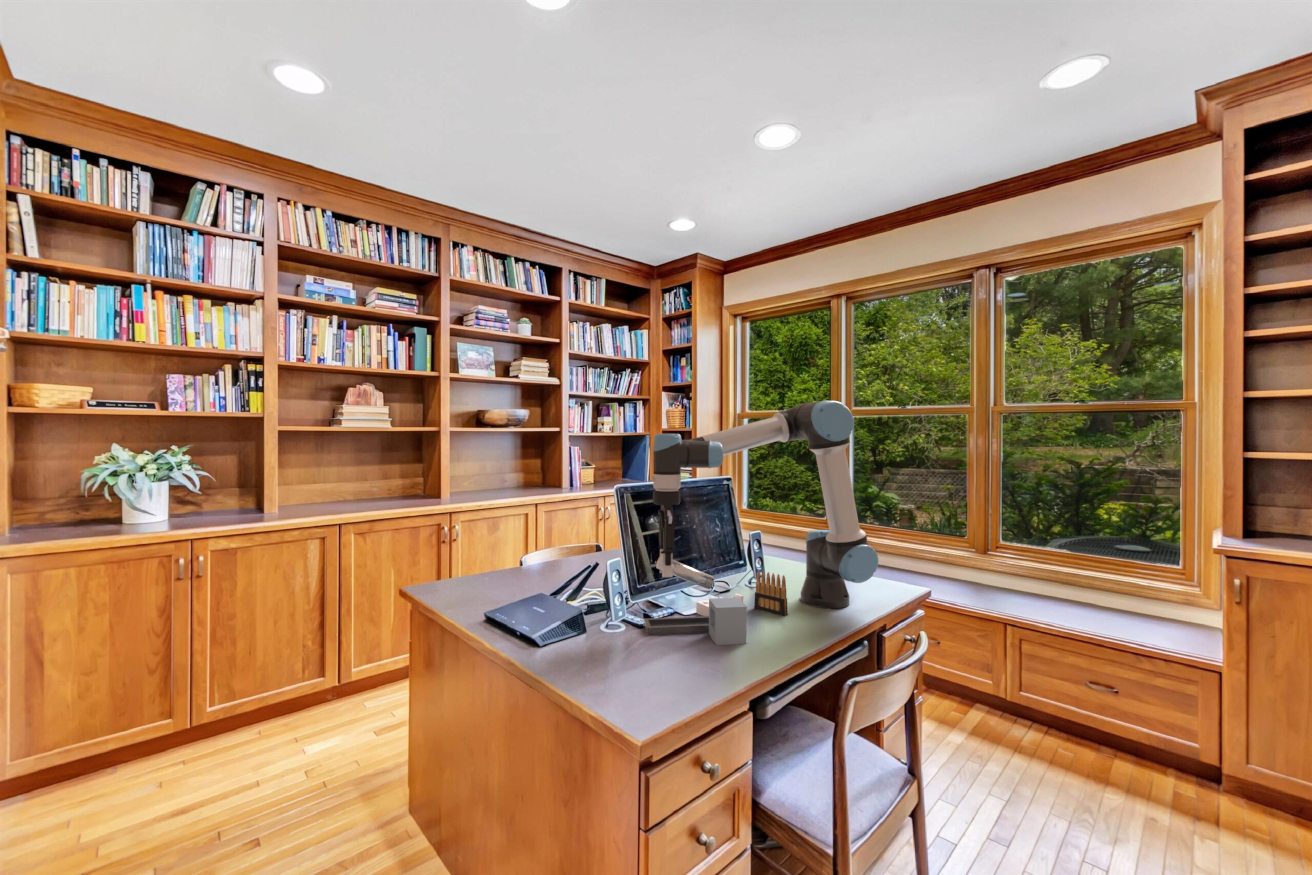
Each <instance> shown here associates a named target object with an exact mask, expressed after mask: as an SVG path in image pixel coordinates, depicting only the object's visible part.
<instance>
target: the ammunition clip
mask: <svg viewBox="0 0 1312 875" xmlns="http://www.w3.org/2000/svg"><path fill="white" fill-rule="evenodd" d="M781 578H782V579H781ZM786 582H787V581H786V577H785V575H784V574H783V575H782V577H781V576H780V574H779V573H778V574H777V576H775V573H774V572H773V573H772V575H770V572H769V571H767V574H766V575H765V570H763V571H762V572H760V570H759V569H758V570H757V572H756V581H755V592H754V602H753V603H754V605H753V606H754V607H753V609H754V610H757V611H761V612H765V613H770V614H773V615H777V616H781V617H787V616H788V615H789V614H788V613H789V612H788V597H787V583H786Z"/></svg>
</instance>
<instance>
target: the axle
mask: <svg viewBox="0 0 1312 875" xmlns="http://www.w3.org/2000/svg"><path fill="white" fill-rule="evenodd" d="M655 568H656V569H658V570H659V571H660V570H662V555H660V554H659V557H658V559H657V561H656V565H655ZM672 576H675V577H677V578H680V579H682V580H684V581H685V582H689V583H691V584H694V585H696V586H699V587H701V588H703V589H706V590H708V591H710V590H711V589H712V588H713V585H714V582H715V577H714V576H712V575H710V574H708V573H706V572H704V571H701V570H698V569H697V568H694V567H692V566H689V565H687V564H685V563H681V562H679V561H678V560H675V559H673V574H672Z"/></svg>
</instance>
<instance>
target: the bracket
mask: <svg viewBox="0 0 1312 875" xmlns="http://www.w3.org/2000/svg"><path fill="white" fill-rule="evenodd" d="M717 598H724V597H722V596H718V597H717ZM733 598H739V599H740V600H741V601H742V602H743V603H744V595H743V594H742V595H741V594H740V593H734V597H733ZM695 603H696V605H695V606H696V608H695V609H696V610H695V613H696V614H698V615H700V616H709V599H704V600H699V601H696V602H695Z"/></svg>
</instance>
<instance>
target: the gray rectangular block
mask: <svg viewBox="0 0 1312 875" xmlns="http://www.w3.org/2000/svg"><path fill="white" fill-rule="evenodd" d="M708 600H709V632H708V635H709V636H710V638H711V640H712V641H713V643H714V644H715V646H725V645H742V644H743V645H746V644H747V636H748V635H747V630H748V629H747V622H748V621H747V620H748V619H747V618H748V617H747V616H748V615H747V613H748V612H747V610H748V608H747V606H746V604H744V601H743V602H742V601H741V600H740V599H739V598H734V597H723V598H718V597H717V598H716V597H715V598H713V597H712V598H708Z"/></svg>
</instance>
